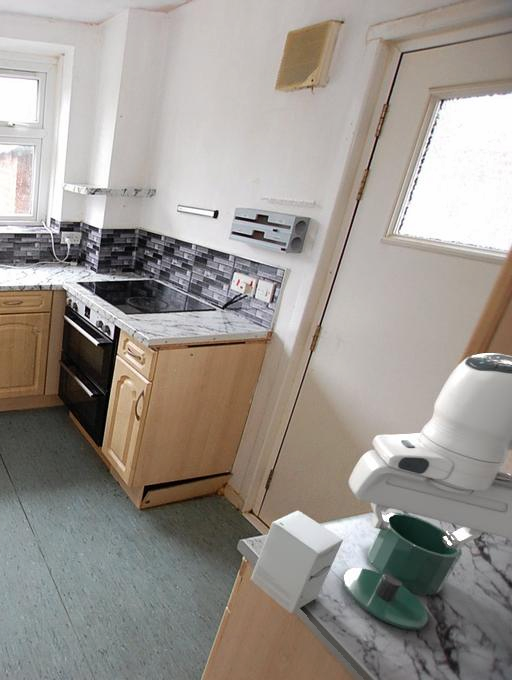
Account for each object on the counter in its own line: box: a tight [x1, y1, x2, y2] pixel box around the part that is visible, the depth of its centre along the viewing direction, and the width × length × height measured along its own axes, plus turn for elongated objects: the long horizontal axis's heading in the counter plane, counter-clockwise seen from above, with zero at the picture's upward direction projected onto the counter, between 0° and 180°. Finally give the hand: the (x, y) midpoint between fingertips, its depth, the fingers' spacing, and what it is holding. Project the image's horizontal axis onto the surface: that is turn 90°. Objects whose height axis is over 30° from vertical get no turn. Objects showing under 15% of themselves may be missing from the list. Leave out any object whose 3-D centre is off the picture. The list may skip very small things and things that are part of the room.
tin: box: [367, 512, 463, 596], centre depth 81 cm, size 10×10×8 cm
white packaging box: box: [250, 510, 344, 615], centre depth 74 cm, size 7×7×13 cm
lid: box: [342, 567, 429, 630], centre depth 75 cm, size 11×11×5 cm
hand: (413, 536), depth 71 cm, fingers open, 8 cm apart
